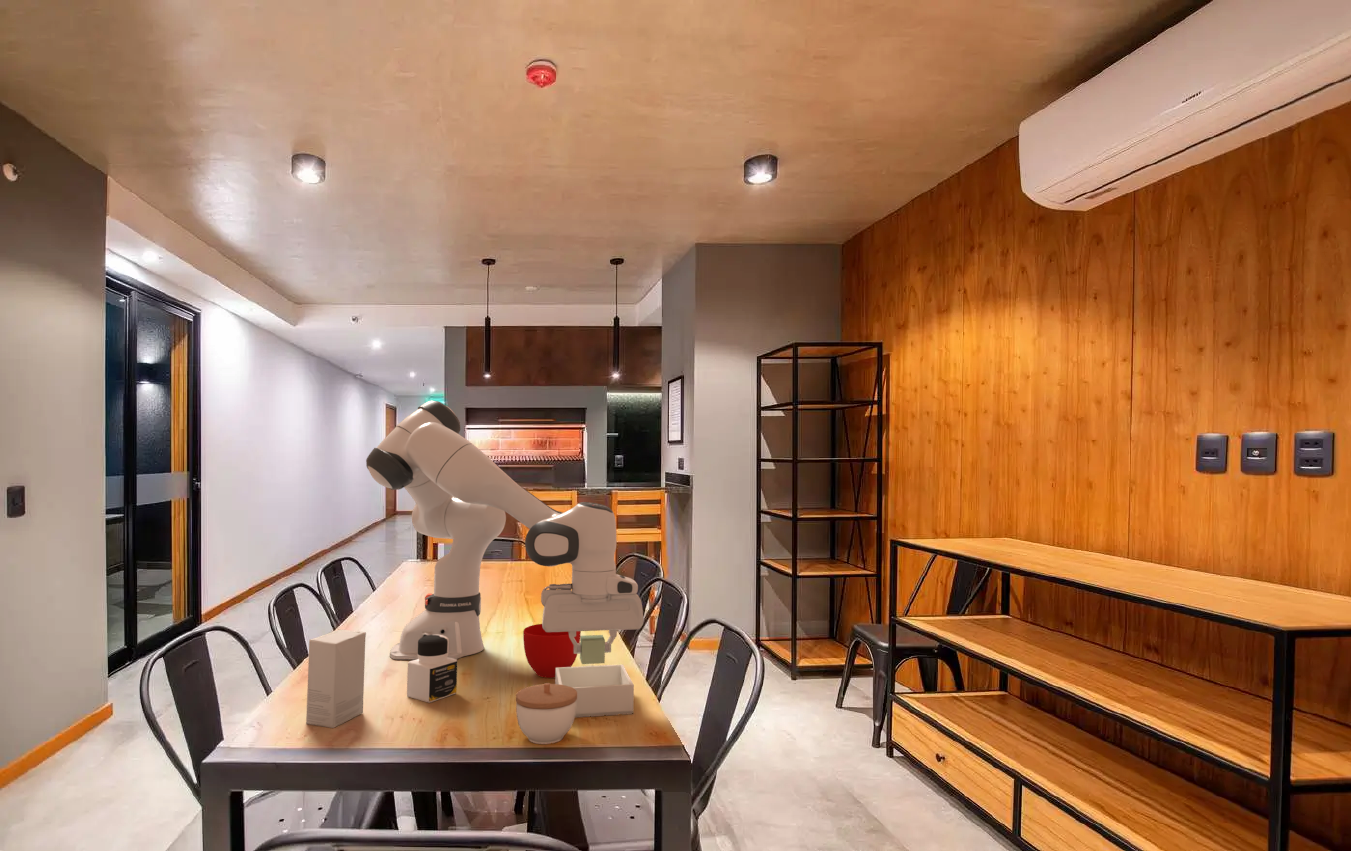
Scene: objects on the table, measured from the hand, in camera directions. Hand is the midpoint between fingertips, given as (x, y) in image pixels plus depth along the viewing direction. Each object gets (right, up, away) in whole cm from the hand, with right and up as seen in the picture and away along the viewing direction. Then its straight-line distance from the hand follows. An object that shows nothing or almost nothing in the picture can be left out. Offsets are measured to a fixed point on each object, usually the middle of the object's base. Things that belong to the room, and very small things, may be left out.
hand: (592, 652), depth 146 cm
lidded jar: (-6, -10, -18) cm, 21 cm away
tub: (0, -10, 0) cm, 10 cm away
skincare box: (-47, -9, -11) cm, 49 cm away
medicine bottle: (-33, -10, +4) cm, 35 cm away
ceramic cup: (-12, -11, +22) cm, 27 cm away
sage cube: (0, -2, 0) cm, 2 cm away
